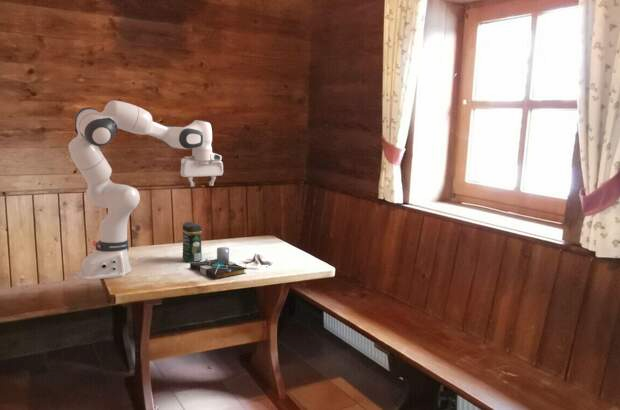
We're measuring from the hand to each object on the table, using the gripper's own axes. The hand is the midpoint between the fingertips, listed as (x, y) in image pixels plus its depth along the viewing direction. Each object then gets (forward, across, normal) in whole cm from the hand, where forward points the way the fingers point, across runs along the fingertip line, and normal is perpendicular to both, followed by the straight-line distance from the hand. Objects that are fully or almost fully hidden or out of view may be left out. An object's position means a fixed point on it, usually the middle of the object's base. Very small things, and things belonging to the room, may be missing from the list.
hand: (202, 186), depth 240 cm
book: (+38, +1, -14) cm, 41 cm away
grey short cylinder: (+34, +4, -14) cm, 37 cm away
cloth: (+38, +24, -14) cm, 47 cm away
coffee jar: (+37, -1, +8) cm, 38 cm away
